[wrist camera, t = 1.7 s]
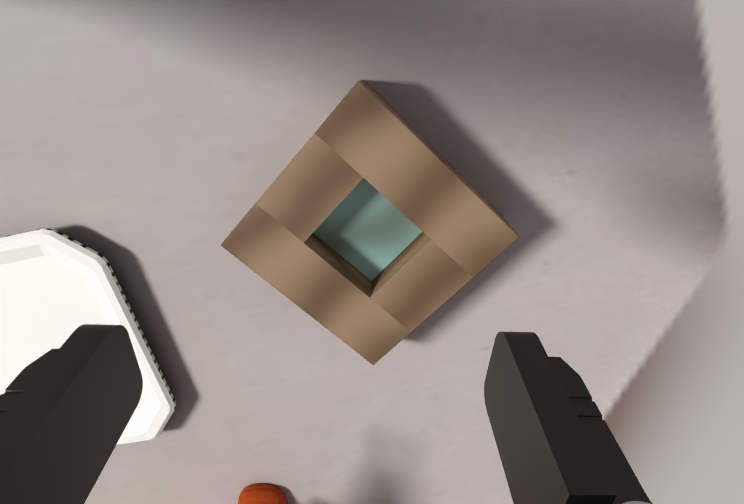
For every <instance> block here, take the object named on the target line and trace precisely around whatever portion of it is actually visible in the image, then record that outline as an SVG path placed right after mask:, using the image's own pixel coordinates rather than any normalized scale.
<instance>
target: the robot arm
mask: <svg viewBox="0 0 744 504" xmlns="http://www.w3.org/2000/svg"><path fill="white" fill-rule="evenodd" d="M142 388H143V378H142V374H141V370H140V367H139V364H138V361H137V358H136V355H135V352H134V349H133V346H132V343H131V340H130V337H129V334H128V331H127V329H126V328H125V327H124V326H122V325H100V324H84V325H81V326H79V327H78V328H77V329H76V330H75V331H74V332H73V333H72V334H71V335H70V337H69V338H68V339H67V340H66V341H65V342H64V344H63V345H62V346H61V347H60V348H59V349H51V350H50V351H48V352H47V353H45V354H44V355H42V356H41V357H39V358H38V359H37V360H35V361H34V362H32V363H31V364H29V365H28V366H26V367H25V368H24V369H23V370H22V371H21V372H20V374H19V375H18V376H17V377H16V378H15V379H14V380H13V381H12V382H11V384H10V385H9V386H8V387H7V388H6V389H5V393H4V394H1V395H0V504H84V503H85V501H86V499H87V497H88V495H89V494H90V492H91V490H92V488H93V486H94V484H95V483H96V481H97V479H98V477H99V475H100V473H101V472H102V470H103V468H104V466H105V464H106V462H107V461H108V459H109V457H110V455H111V453H112V451H113V450H114V448H115V446H116V444H117V442H118V440H119V439H120V437H121V435H122V433H123V431H124V429H125V428H126V426H127V424H128V422H129V420H130V419H131V417H132V415H133V413H134V411H135V409H136V408H137V406H138V404H139V401H140V398H141V394H142ZM484 396H485V404H486V409H487V413H488V416H489V420H490V423H491V427H492V430H493V433H494V437H495V440H496V444H497V447H498V451H499V454H500V458H501V461H502V465H503V468H504V471H505V475H506V478H507V482H508V485H509V489H510V492H511V496H512V499H513V503H514V504H652V502H651V501H650V500H649V498H648V497H647V495H646V493H645V492H644V490H643V488H642V486H641V485H640V483H639V481H638V479H637V477H636V476H635V474H634V472H633V470H632V469H631V467H630V465H629V463H628V461H627V460H626V458H625V456H624V454H623V452H622V450H621V449H620V447H619V445H618V443H617V442H616V440H615V438H614V436H613V434H612V433H611V431H610V429H609V427H608V425H607V424H606V422H605V420H602V415H601V413H600V411H599V409H598V407H597V406H596V404H595V402H592V397H591V395H590V393H589V391H588V389H587V388H586V386H585V384H584V382H583V380H582V379H581V377H580V375H579V374H578V373H576V372H575V371H574V370H573V369H572V368H571V367H570V366H569V365H568V364H567V363H566V362H565V361H564V360H563V359H562V358H560V357H548V356H547V354H546V352H545V350H544V348H543V346H542V344H541V342H540V340H539V338H538V336H537V335H536V334H535V333H533V332H499V333H498V334H497V336H496V338H495V342H494V346H493V350H492V354H491V358H490V362H489V366H488V371H487V375H486V379H485V386H484Z"/></svg>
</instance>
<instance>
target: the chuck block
mask: <svg viewBox="0 0 744 504" xmlns="http://www.w3.org/2000/svg"><path fill="white" fill-rule="evenodd" d="M517 238H519V237H518V235H517V234H516V233H515V232H514V230H513V229H512V228H511V226H510V225H509V224H508V223H507V221H506V220H505V219H504V218H503V217H502V216H501V215H500V214H499V213H498V212H497V211H496V210H495V209H494V208H493V207H492V206H491V205H490V204H489V203H488V202H487V201H486V200H485V199H484V198H483V197H482V196H481V195H480V194H479V193H478V192H477V191H476V190H475V189H474V188H473V187H472V186H471V185H470V184H469V183H468V182H467V181H466V180H465V179H464V178H462V177H461V176H460V175H459V174H458V173H457V172H456V171H455V170H454V169H453V168H452V167H451V166H450V165H449V164H448V163H447V162H446V161H445V160H444V159H443V158H442V157H441V156H440V155H439V154H438V153H437V152H436V151H435V150H434V149H433V148H432V147H431V146H430V145H429V144H428V143H427V142H426V141H425V140H424V139H423V138H422V137H421V136H420V135H419V134H418V133H417V132H416V131H415V130H414V129H412V128H411V127H410V126H409V125H408V124H407V123H406V122H405V121H404V120H403V119H402V118H401V117H400V116H399V115H398V114H397V113H396V112H395V111H394V110H393V109H392V108H391V107H390V106H389V105H388V104H387V103H386V102H385V101H384V100H383V99H382V98H381V97H380V96H379V95H378V94H377V93H376V92H375V91H374V90H373V89H372V88H371V87H370V86H369V85H368V84H367V83H366V82H365V81H364V80H360V81H358V82H357V83H356V85H355V86H354V87H353V88H352V89H351V91H350V92H349V93H348V94H347V95H346V96H345V98H344V99H343V100H342V101H341V102H340V104H339V105H338V106H337V107H336V108H335V110H334V111H333V112H332V113H331V114H330V115H329V117H328V118H327V119H326V120H325V121H324V123H323V124H322V125H321V126H320V127H319V129H318V130H317V131H316V132H315V133H314V135H313V136H312V137H311V138H310V139H309V140H308V142H307V143H306V144H305V145H304V146H303V148H302V149H301V150H300V151H299V152H298V154H297V155H296V156H295V157H294V158H293V159H292V161H291V162H290V163H289V164H288V165H287V167H286V168H285V169H284V170H283V171H282V173H281V174H280V175H279V176H278V177H277V178H276V180H275V181H274V182H273V183H272V184H271V186H270V187H269V188H268V189H267V190H266V192H265V193H264V194H263V195H262V196H261V198H260V199H259V200H258V201H257V202H256V203H255V205H254V206H253V207H252V208H251V209H250V211H249V212H248V213H247V214H246V215H245V217H244V218H243V219H242V220H241V221H240V222H239V224H238V225H237V226H236V227H235V228H234V230H233V231H232V232H231V233H230V234H229V236H228V237H227V238H226V239H225V240H224V242H223V243H222V244H221V246H222V247H224V248H225V249H226V250H227V251H229V252H230V253H231V254H232V255H234V256H235V257H236V258H238V259H239V260H240V261H241V262H243V263H244V264H245V265H246V266H248V267H249V268H250V269H252V270H253V271H254V272H255V273H257V274H258V275H259V276H260V277H262V278H263V279H264V280H266V281H267V282H268V283H269V284H271V285H272V286H273V287H274V288H276V289H277V290H278V291H280V292H281V293H282V294H283V295H285V296H286V297H287V298H288V299H290V300H291V301H292V302H294V303H295V304H296V305H297V306H299V307H300V308H301V309H302V310H304V311H305V312H306V313H308V314H309V315H310V316H311V317H313V318H314V319H315V320H317V321H318V322H319V323H320V324H322V325H323V326H324V327H325V328H327V329H328V330H329V331H331V332H332V333H333V334H334V335H336V336H337V337H338V338H339V339H341V340H342V341H343V342H345V343H346V344H347V345H348V346H350V347H351V348H352V349H353V350H355V351H356V352H357V353H359V354H360V355H361V356H362V357H364V358H365V359H366V360H367V361H369V362H370V363H371V364H373V365H374V364H375V363H376V362H377V361H379V360H380V359H381V358H382V357H383V356H384V355H385V354H386V353H388V352H389V351H390V350H391V349H392V348H393V347H394V346H396V345H397V344H398V343H399V342H400V341H401V340H402V339H404V338H405V337H406V336H407V335H408V334H409V333H410V332H412V331H413V330H414V329H415V328H416V327H417V326H418V325H420V324H421V323H422V322H423V321H424V320H425V319H426V318H427V317H429V316H430V315H431V314H432V313H433V312H434V311H435V310H437V309H438V308H439V307H440V306H441V305H442V304H443V303H445V302H446V301H447V300H448V299H449V298H450V297H451V296H453V295H454V294H455V293H456V292H457V291H458V290H459V289H461V288H462V287H463V286H464V285H465V284H466V283H467V282H468V281H470V280H471V279H472V278H473V277H474V276H475V275H476V274H478V273H479V272H480V271H481V270H482V269H483V268H484V267H486V266H487V265H488V264H489V263H490V262H491V261H492V260H494V259H495V258H496V257H497V256H498V255H499V254H500V253H502V252H503V251H504V250H505V249H506V248H507V247H508V246H509V245H511V244H512V243H513V242H514V241H515V240H516V239H517Z"/></svg>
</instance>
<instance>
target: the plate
mask: <svg viewBox="0 0 744 504" xmlns="http://www.w3.org/2000/svg"><path fill="white" fill-rule="evenodd" d="M84 324H100V325H122V326H124V327H125V328H126V329H127V331H128V334H129V337H130V340H131V343H132V346H133V349H134V352H135V355H136V358H137V361H138V364H139V367H140V370H141V374H142V378H143V388H142V394H141V398H140V401H139V404H138V406H137V408H136V409H135V411H134V413H133V415H132V417H131V419H130V420H129V422H128V424H127V426H126V428H125V429H124V431H123V433H122V435H121V437H120V439H119V440H118V442H117V444H116V445H119V444H126V443H133V442H139V441H146V440H153V439H155V438H157V437H159V435H160V434H161V432H162V431H163V429H164V427H165V426H166V424H167V422H168V421H169V419H170V417H171V415H172V414H173V412H174V410H175V408H176V401H175V399H174V397H173V394H172V392H171V390H170V388H169V386H168V384H167V382H166V380H165V378H164V376H163V374H162V372H161V370H160V367H159V365H158V363H157V361H156V359H155V357H154V355H153V353H152V351H151V349H150V347H149V345H148V343H147V341H146V338H145V336H144V334H143V332H142V330H141V328H140V326H139V324H138V322H137V320H136V318H135V316H134V313H133V311H132V309H131V307H130V305H129V303H128V301H127V299H126V297H125V295H124V293H123V291H122V289H121V286H120V284H119V282H118V280H117V278H116V276H115V274H114V272H113V270H112V268H111V266H110V264H109V261H108V260H107V259H106V258H105V257H104V256H103V255H102V254H100V253H98V252H96V251H94V250H93V249H91V248H89V247H87V246H85V245H83V244H81V243H80V242H78V241H76V240H74V239H72V238H70V237H68V236H67V235H65V234H63V233H61V232H59V231H57V230H55V229H49V228H43V229H38V230H33V231H29V232H24V233H19V234H15V235H10V236H5V237H1V238H0V395H1V394H4V393H5V389H6V388H7V387H8V386H9V385H10V384H11V382H12V381H13V380H14V379H15V378H16V377H17V376H18V375H19V374H20V372H21V371H22V370H23V369H24V368H25V367H26V366H28V365H29V364H31V363H32V362H34V361H35V360H37V359H38V358H39V357H41V356H42V355H44V354H45V353H47V352H48V351H50V350H51V349H59V348H60V347H61V346H62V345H63V344H64V342H65V341H66V340H67V339H68V338H69V337H70V335H71V334H72V333H73V332H74V331H75V330H76V329H77V328H78V327H79V326H81V325H84Z"/></svg>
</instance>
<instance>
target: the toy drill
mask: <svg viewBox="0 0 744 504" xmlns="http://www.w3.org/2000/svg"><path fill="white" fill-rule="evenodd" d="M238 504H287V500H286V497H285V495H284V494H283V492H282V491H281V490H280V489H279V488H277V487H275V486H273V485H269V484H252V485H249V486H247V487H246V488H244V489H243V491H242V492H241V494H240V496H239V502H238Z"/></svg>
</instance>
